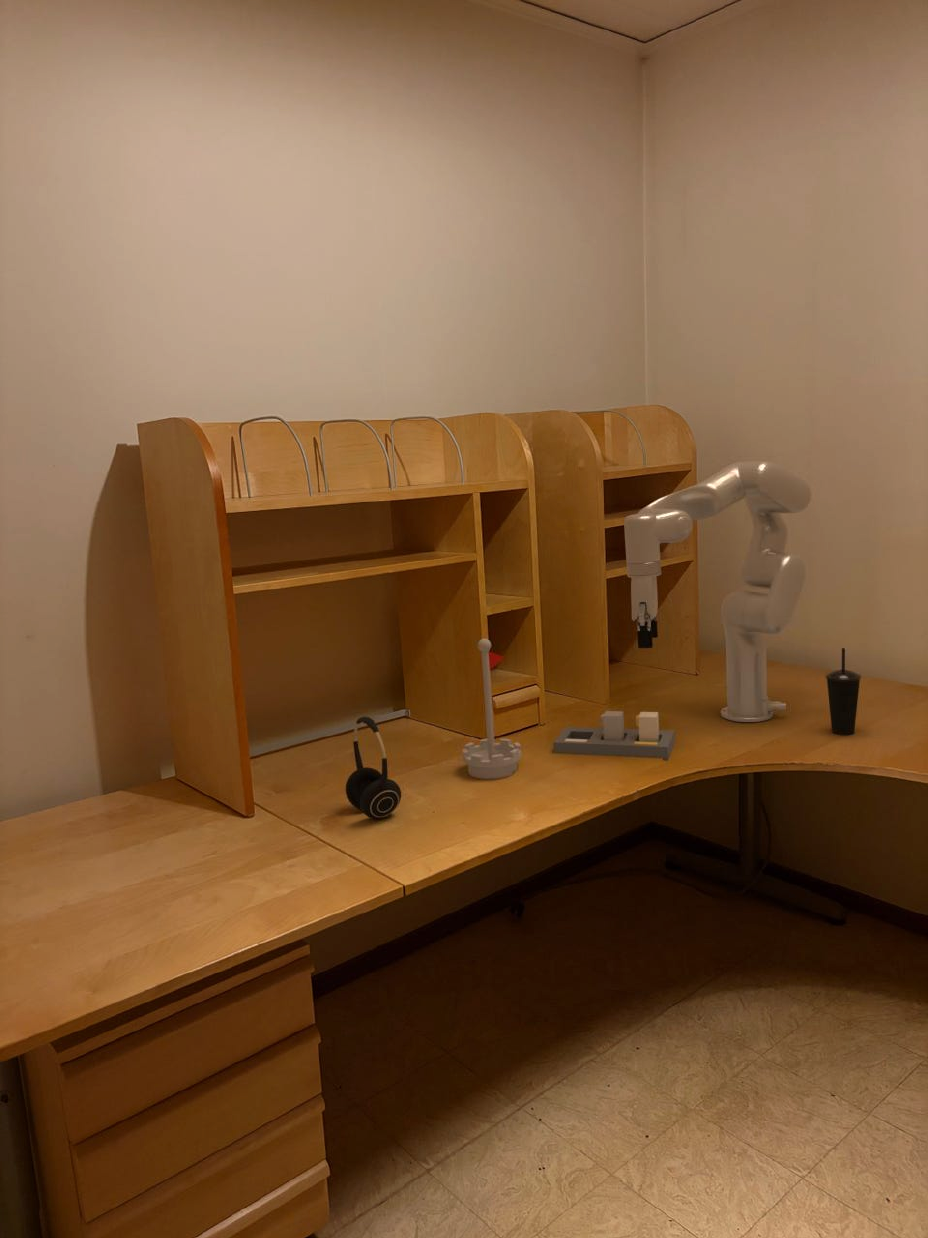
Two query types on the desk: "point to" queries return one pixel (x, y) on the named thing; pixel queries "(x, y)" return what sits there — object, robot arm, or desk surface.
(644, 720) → the ivory plug
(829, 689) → the drinking cup
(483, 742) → the flag stand
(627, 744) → the grey slotted tray
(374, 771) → the headphones
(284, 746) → the desk surface
